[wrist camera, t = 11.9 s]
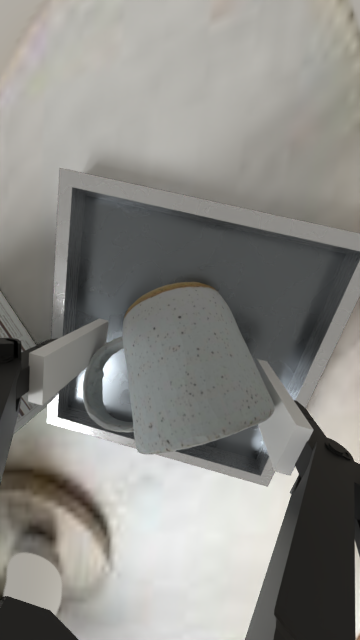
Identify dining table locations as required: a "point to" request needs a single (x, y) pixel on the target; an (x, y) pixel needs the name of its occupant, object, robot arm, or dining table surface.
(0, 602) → the coffee press
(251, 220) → the square tray
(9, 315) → the supplement box
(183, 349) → the ceramic mug
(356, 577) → the lidded jar
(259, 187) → the dining table surface
